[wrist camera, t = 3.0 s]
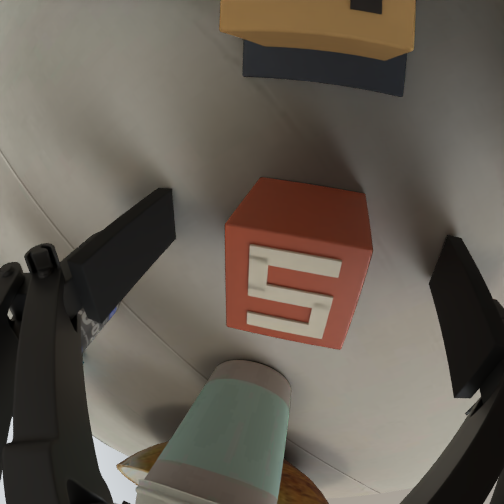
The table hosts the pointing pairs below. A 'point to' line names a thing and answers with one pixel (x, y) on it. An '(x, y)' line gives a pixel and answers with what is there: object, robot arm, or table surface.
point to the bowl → (290, 491)
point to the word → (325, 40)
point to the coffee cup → (226, 442)
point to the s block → (296, 261)
